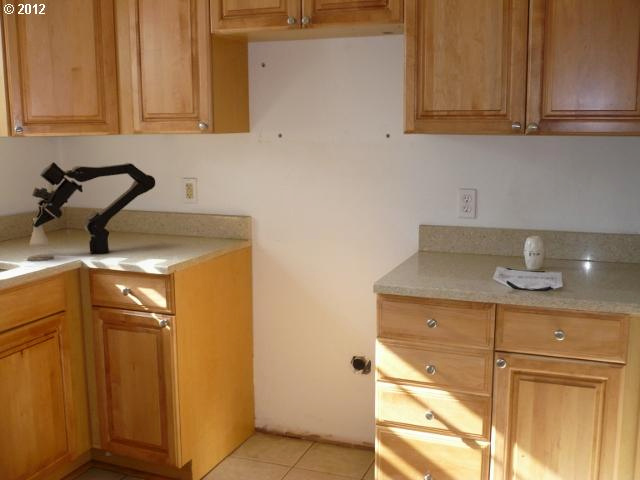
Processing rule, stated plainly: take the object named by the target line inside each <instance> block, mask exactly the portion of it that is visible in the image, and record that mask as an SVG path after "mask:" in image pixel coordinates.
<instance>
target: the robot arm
mask: <svg viewBox="0 0 640 480" xmlns="http://www.w3.org/2000/svg"><path fill="white" fill-rule="evenodd" d="M39 175H40V177H41V178H42V179H44V180H45V181H46V182H48V183H49V184H50V185H51V186H57V187H56V188H55V189H54V190H51V191H48V189H47V188H44V187H40V188H38V187H34V190H33V192H32V194H31V196H32V197H35V198H37V199H38V198H39V200H38V201H37V208H38V213H37V215H36V216H35V218H38V219H37V221H36V222H35V224H34V221H33V222H32V226H33V227H34V226H35V227H38V226H40V225H42V226H43V225H44V224H46V223H48V222H51V221H53V220H55V219H56V218H57V219H60V218H61V217H62V215H63V211H62V210H61V209H62V208H63V206H64V205H65V204H67V203H68V202H69V199H70V198H71V197H72V195H74V194H75V193H76V192H77V191H78V192H80V193H83V184H78V183H77V182H79V183H85V182H87V181H92V180H94V179H97V178H101V177H109V176H118V175H128V176H130V178H131V179H133V180H134V181H133V182H132V184H131V186H130V187H129V188H128V189H127V190H126V191H124V192H123V193H122V194H121V195H120V196H119V197H117V198H116V199H115V200H114V201H113V202H111V203H110V204H109V205H108V206H107V207H105V208H104V209H103V210H102V211H100V212H98V211H96V210H94V211H93V212H92V213H91V214H90V215H89V216H88V215H87V216H86V217H85V220H84V221H83V228H84V229H85V231H87V232H88V233H89V235H90V240H89V252H90V254H91V255H96V254H98V255H99V254H109V253H110V246H109V235H110V231H109V230H107V229H106V228H105V227H106V226H107V225H108V223H109V221H110V220H111V219H112V218H113V217H115V216H116V215H117V214H118V213H119V212H120V211H122V210H123V209H124V208H125V207H126V206H128V205H129V204H130V203H132V201H134V200H135V199H136V198H137V197H139V196H142V195H143V194H145V193H147V192H149V191H151V190H152V189H154V187H156V179H155V177H154V176H153V175H151V174H146V173H145V172H143V171H142V170H141V169H140V168H137V167H136V166H135V165H134V163H129V162H126V163H122V164H113V165H103V166H85V165H84V166H82V165H76V166H74V167H72V169H68V170H65V171H64V170H63V169H62V168H61V167H59V165H58V164H56V163H55V162H51V163H50V164H49V165H48V166H46V167H45V168H44V169H43V170H42V172H41V173H40V174H39ZM67 178H69V179H72V180H69V179H67Z"/></svg>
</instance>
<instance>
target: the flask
mask: <svg viewBox="0 0 640 480" xmlns="http://www.w3.org/2000/svg"><path fill="white" fill-rule="evenodd" d="M37 219H38V218H36V217H34V218H32V220H33V222H34V224H35V222H36V221H37ZM28 245H29V247H30V246H32V247H40V246H48V245H50V242H49V238H48V237H47V235H46V233H45V230H44V227H43V224H42V225H40V226H38V227H35V226H33V230H32V233H31V237H30V241H29V244H28Z"/></svg>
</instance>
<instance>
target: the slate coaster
mask: <svg viewBox="0 0 640 480" xmlns="http://www.w3.org/2000/svg"><path fill="white" fill-rule="evenodd" d="M26 259H27V261H29V262H44V261H50V260H53V259H54V255H53V254H49V253H48V254H35V255H29V256H27V258H26Z"/></svg>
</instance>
